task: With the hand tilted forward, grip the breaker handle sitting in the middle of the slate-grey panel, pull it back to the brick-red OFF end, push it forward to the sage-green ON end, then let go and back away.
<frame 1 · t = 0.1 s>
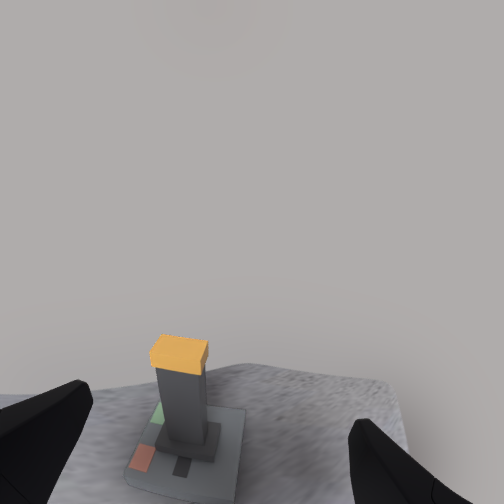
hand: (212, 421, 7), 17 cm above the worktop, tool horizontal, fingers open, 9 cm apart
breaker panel: (191, 454, 20), on the worktop
breaker handle: (184, 401, 19), point 8 cm above the worktop, slide at 3.0 cm
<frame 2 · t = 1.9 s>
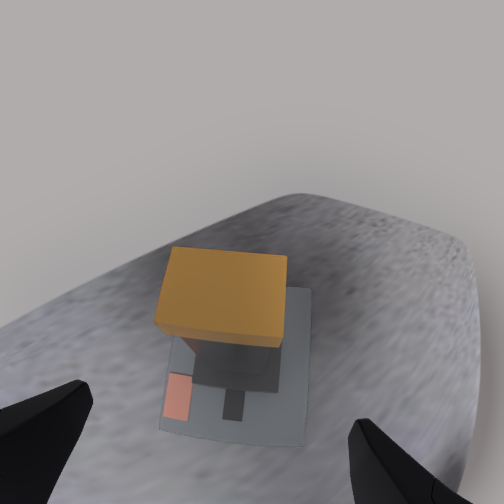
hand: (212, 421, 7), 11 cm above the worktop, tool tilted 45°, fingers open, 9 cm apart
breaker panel: (240, 365, 19), on the worktop
breaker handle: (233, 338, 12), point 8 cm above the worktop, slide at 3.0 cm
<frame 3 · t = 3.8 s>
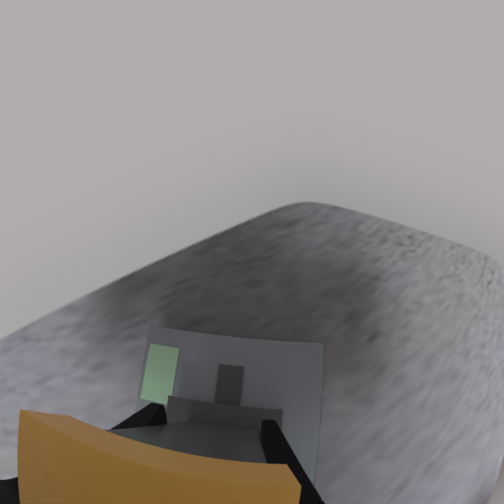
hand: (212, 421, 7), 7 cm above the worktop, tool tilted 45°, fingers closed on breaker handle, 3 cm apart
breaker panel: (226, 438, 12), on the worktop
breaker handle: (203, 466, 6), point 8 cm above the worktop, slide at 3.0 cm, touching gripper
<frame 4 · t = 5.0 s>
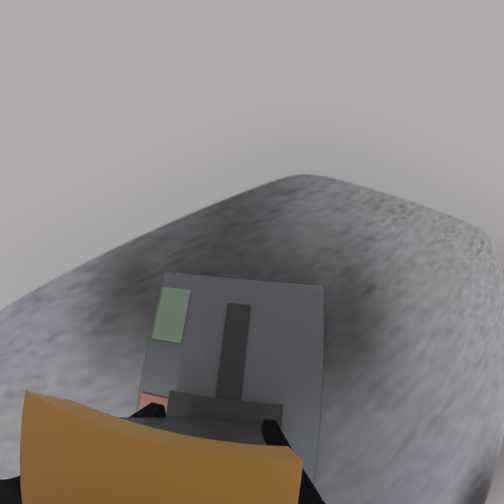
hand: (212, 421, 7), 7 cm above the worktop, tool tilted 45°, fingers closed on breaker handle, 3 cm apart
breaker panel: (232, 383, 14), on the worktop
breaker handle: (204, 458, 6), point 8 cm above the worktop, slide at -0.1 cm, touching gripper
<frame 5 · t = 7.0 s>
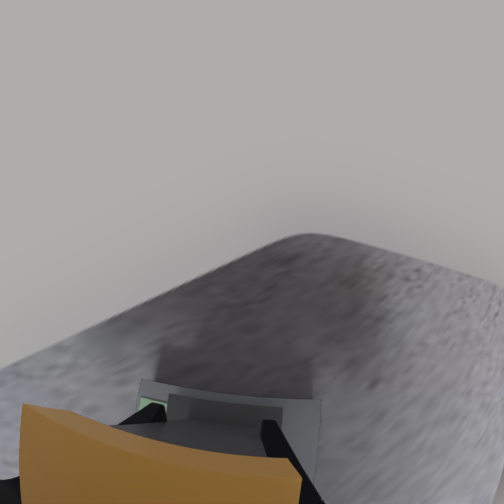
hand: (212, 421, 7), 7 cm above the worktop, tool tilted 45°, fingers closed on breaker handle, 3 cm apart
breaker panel: (221, 484, 11), on the worktop
breaker handle: (203, 463, 6), point 8 cm above the worktop, slide at 6.1 cm, touching gripper
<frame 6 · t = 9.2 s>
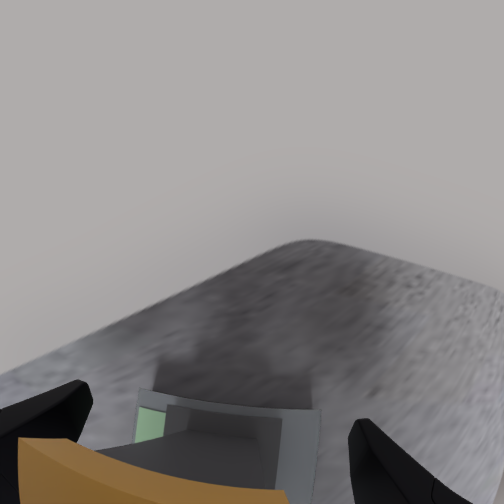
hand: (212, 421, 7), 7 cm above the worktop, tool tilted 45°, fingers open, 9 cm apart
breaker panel: (220, 492, 11), on the worktop
breaker handle: (201, 479, 6), point 8 cm above the worktop, slide at 6.0 cm
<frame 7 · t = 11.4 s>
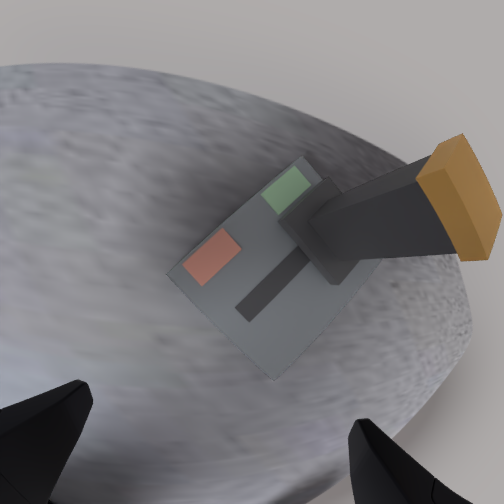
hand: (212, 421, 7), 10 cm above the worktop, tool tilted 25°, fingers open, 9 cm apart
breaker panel: (279, 266, 18), on the worktop
breaker handle: (382, 218, 12), point 8 cm above the worktop, slide at 6.0 cm
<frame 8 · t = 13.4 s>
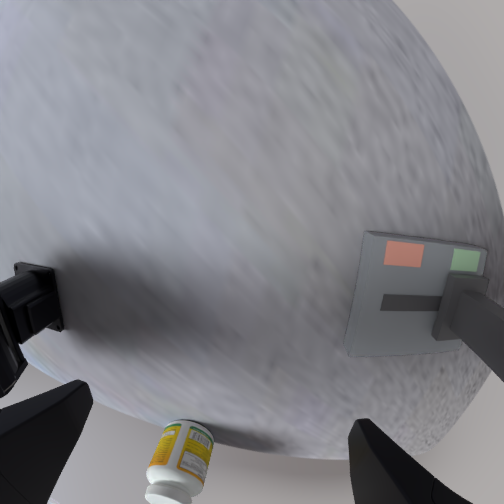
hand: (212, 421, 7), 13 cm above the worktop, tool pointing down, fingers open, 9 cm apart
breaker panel: (415, 293, 19), on the worktop
supplement bottle: (190, 432, 25), on the worktop
breaker handle: (496, 335, 12), point 8 cm above the worktop, slide at 6.0 cm
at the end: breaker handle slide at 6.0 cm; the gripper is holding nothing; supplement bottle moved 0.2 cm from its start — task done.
